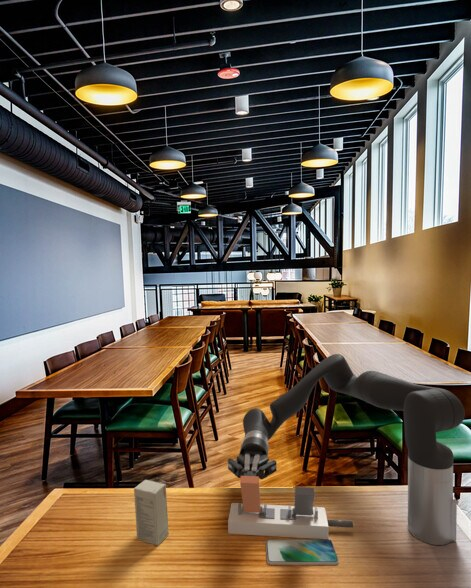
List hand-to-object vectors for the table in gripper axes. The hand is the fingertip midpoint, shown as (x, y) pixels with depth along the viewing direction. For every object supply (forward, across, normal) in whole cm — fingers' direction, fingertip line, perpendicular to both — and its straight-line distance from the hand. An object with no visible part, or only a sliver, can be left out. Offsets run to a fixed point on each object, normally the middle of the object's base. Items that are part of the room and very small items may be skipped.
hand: (248, 484), depth 87 cm
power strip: (-4, -9, -12) cm, 16 cm away
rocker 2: (-4, -12, -8) cm, 15 cm away
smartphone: (+4, -12, -13) cm, 18 cm away
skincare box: (+2, +23, -12) cm, 26 cm away
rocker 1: (-4, 0, -8) cm, 9 cm away
